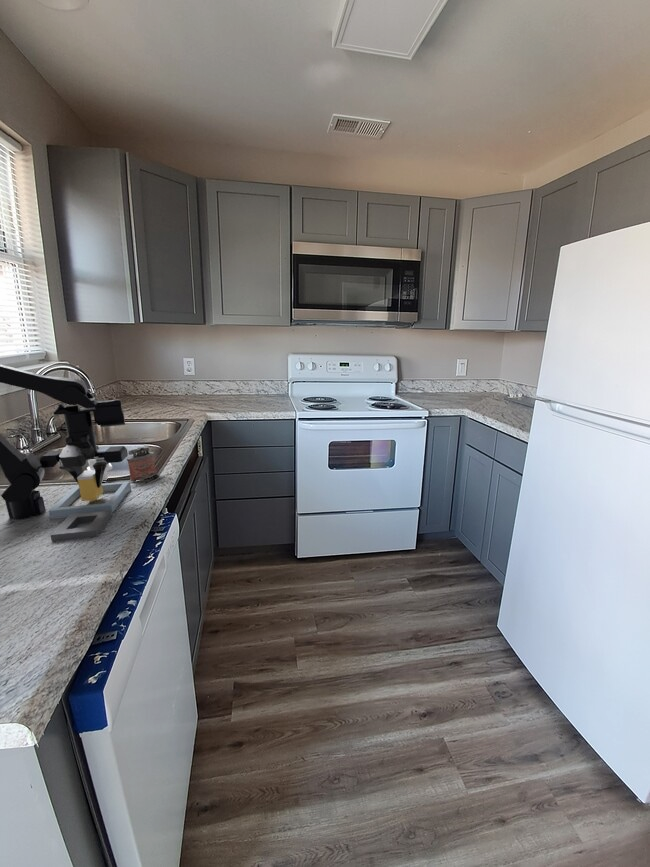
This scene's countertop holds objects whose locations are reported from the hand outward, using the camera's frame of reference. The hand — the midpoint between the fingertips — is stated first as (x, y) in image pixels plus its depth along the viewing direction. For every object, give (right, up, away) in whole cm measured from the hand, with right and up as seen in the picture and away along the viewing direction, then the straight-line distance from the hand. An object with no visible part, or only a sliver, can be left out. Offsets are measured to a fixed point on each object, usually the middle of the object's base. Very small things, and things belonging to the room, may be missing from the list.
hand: (91, 487), depth 104 cm
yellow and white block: (0, -2, +1) cm, 2 cm away
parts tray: (0, -5, +1) cm, 5 cm away
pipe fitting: (-7, -1, +18) cm, 19 cm away
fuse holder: (+6, -8, -12) cm, 16 cm away
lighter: (+5, 0, +20) cm, 20 cm away
